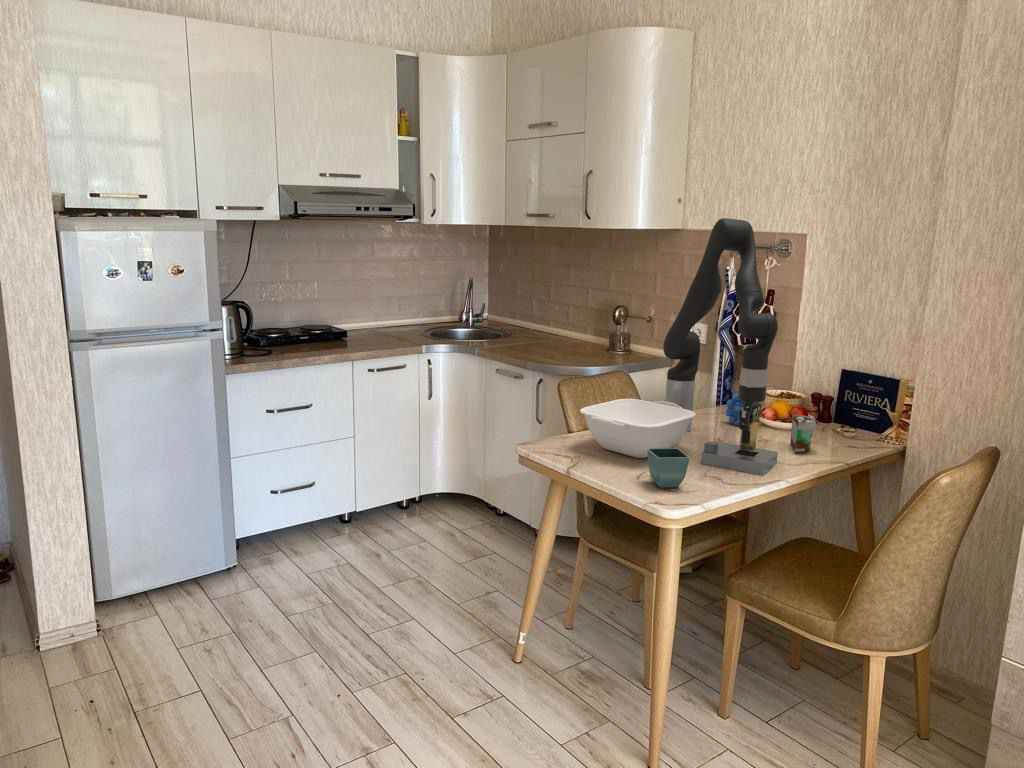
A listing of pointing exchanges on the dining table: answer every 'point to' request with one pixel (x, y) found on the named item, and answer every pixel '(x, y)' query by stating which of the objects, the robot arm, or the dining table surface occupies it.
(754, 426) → the gold peg
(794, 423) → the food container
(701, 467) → the dining table surface
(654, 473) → the flower pot
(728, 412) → the blue knobby disc
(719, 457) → the plate
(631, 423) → the white basin
